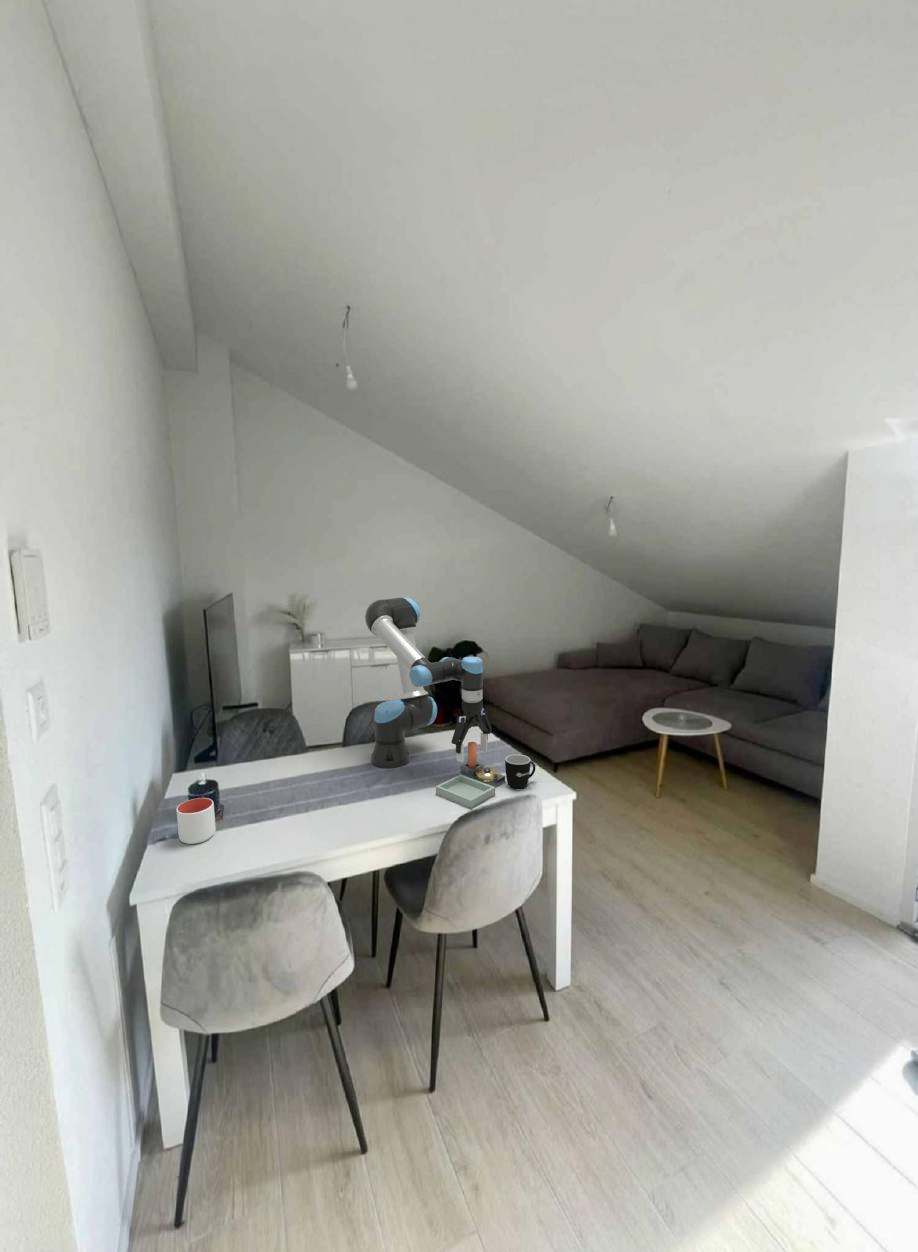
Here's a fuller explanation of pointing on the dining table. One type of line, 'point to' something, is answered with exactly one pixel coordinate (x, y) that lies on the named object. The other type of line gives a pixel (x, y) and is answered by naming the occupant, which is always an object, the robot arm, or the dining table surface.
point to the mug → (518, 771)
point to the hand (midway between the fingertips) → (472, 755)
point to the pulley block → (482, 774)
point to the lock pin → (472, 754)
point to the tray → (465, 791)
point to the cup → (196, 820)
